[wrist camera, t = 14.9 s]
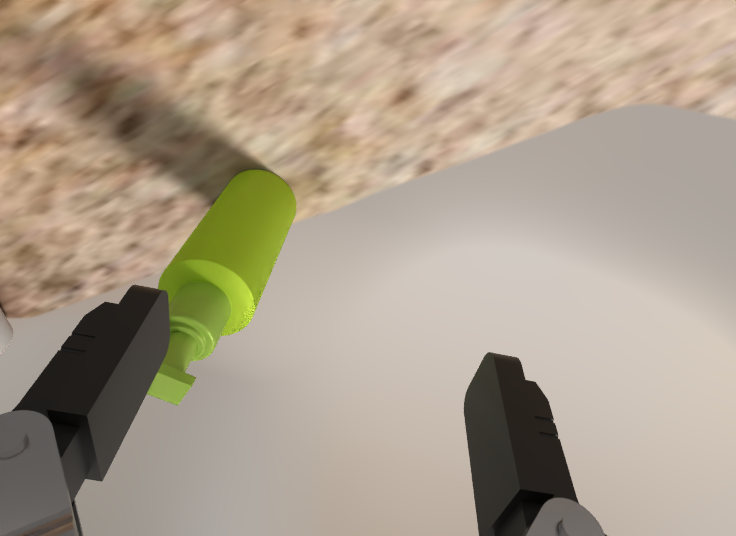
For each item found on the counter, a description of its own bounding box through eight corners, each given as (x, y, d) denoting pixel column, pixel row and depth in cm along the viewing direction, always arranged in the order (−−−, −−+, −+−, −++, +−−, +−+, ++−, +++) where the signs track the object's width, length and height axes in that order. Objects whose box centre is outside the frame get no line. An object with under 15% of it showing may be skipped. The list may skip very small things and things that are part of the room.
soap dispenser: (233, 147, 38) (97, 310, 22) (309, 196, 40) (237, 381, 23) (202, 201, 41) (61, 382, 24) (274, 245, 43) (188, 440, 26)
